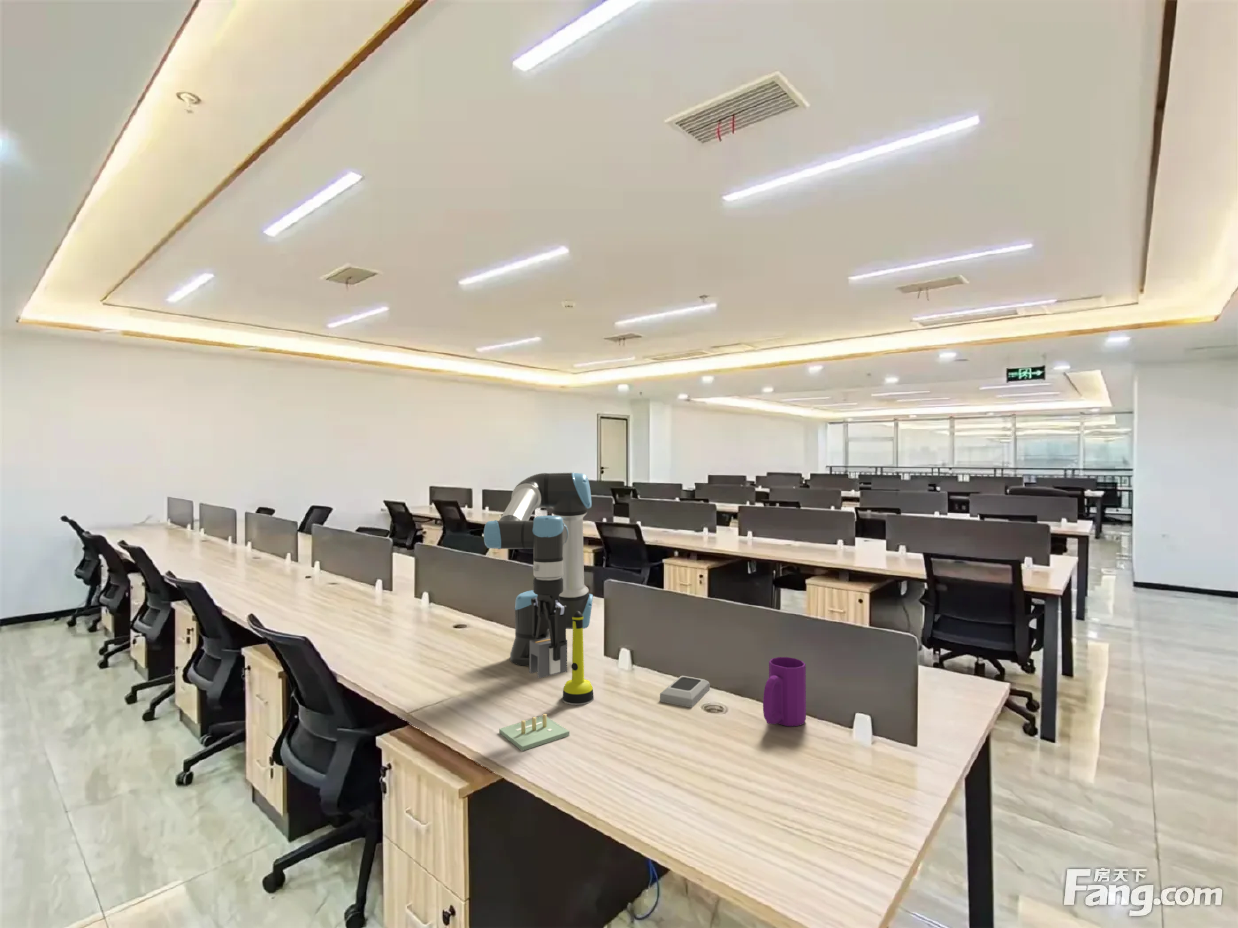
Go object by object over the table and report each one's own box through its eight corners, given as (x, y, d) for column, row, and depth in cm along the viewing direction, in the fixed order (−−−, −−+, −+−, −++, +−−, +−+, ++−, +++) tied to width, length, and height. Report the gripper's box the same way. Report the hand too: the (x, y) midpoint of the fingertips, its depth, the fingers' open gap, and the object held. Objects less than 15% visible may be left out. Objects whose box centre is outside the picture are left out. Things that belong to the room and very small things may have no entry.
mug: (812, 719, 154) (811, 662, 155) (782, 739, 143) (782, 677, 143) (780, 709, 161) (779, 654, 161) (749, 728, 150) (749, 668, 150)
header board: (544, 719, 156) (544, 703, 156) (569, 735, 146) (569, 719, 146) (499, 732, 148) (499, 716, 148) (522, 751, 138) (522, 733, 138)
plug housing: (556, 666, 154) (557, 635, 154) (567, 671, 150) (567, 639, 150) (529, 672, 149) (529, 640, 149) (539, 678, 145) (539, 644, 145)
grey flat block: (659, 689, 167) (679, 673, 180) (659, 702, 167) (679, 685, 180) (691, 695, 163) (709, 678, 176) (691, 709, 163) (709, 690, 176)
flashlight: (575, 606, 175) (555, 612, 168) (599, 610, 170) (580, 616, 163) (576, 690, 175) (555, 700, 168) (600, 697, 170) (580, 707, 163)
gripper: (517, 574, 154) (517, 663, 154) (554, 584, 140) (555, 683, 140) (542, 571, 159) (542, 658, 159) (580, 580, 145) (581, 676, 145)
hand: (548, 669), depth 149 cm, fingers closed on plug housing, 5 cm apart
